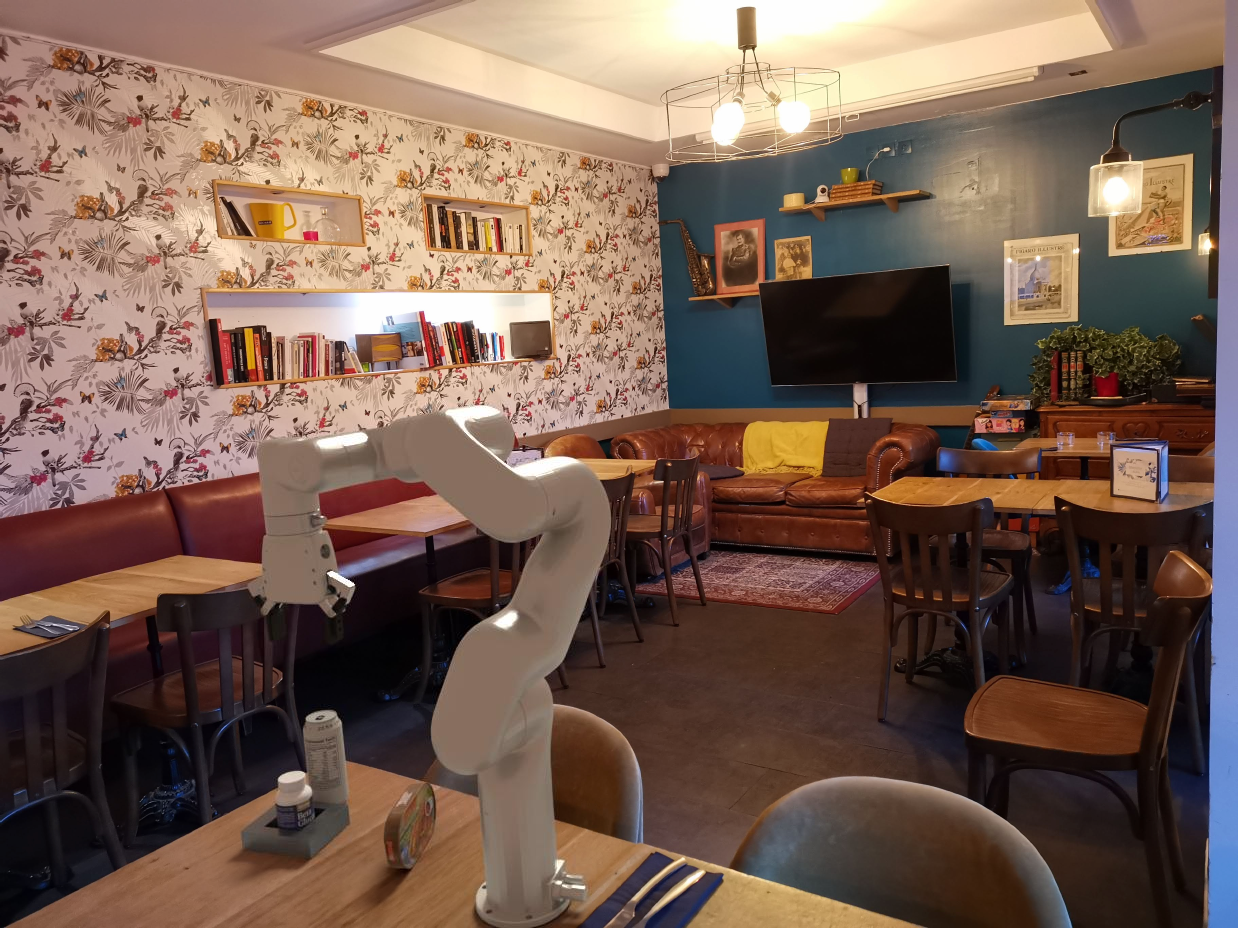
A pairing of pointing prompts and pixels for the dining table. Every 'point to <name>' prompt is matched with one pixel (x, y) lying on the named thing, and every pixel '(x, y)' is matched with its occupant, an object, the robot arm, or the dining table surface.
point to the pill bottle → (294, 802)
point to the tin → (410, 825)
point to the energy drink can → (325, 757)
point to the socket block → (296, 832)
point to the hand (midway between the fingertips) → (306, 639)
